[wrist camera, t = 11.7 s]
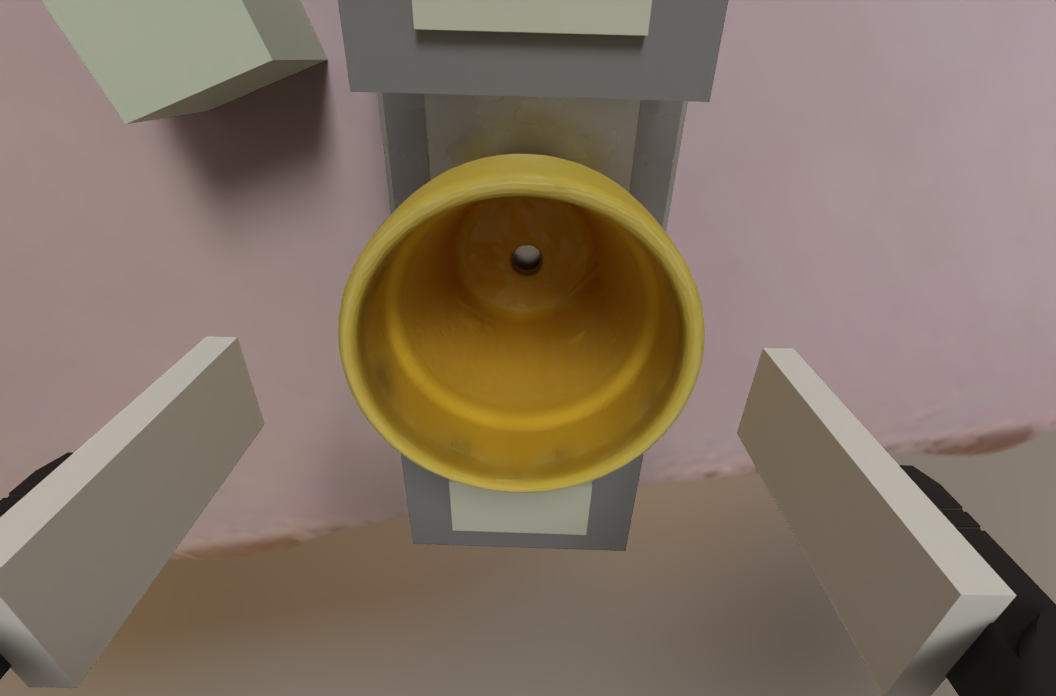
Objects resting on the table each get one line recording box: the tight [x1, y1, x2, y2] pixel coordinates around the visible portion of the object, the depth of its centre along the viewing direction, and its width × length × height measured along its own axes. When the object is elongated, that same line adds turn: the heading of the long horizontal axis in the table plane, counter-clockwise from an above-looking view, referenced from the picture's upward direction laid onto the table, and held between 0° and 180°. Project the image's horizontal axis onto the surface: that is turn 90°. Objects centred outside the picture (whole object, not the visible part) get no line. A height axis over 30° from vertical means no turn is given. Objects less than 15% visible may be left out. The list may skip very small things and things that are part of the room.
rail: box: [377, 92, 688, 270], centre depth 23 cm, size 12×26×2 cm, turn 179°
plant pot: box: [339, 154, 705, 493], centre depth 18 cm, size 10×10×10 cm
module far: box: [401, 453, 643, 551], centre depth 24 cm, size 10×6×6 cm, turn 89°
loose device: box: [42, 0, 328, 124], centre depth 18 cm, size 6×4×5 cm, turn 109°
